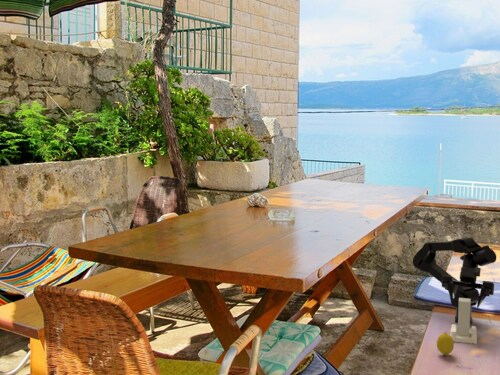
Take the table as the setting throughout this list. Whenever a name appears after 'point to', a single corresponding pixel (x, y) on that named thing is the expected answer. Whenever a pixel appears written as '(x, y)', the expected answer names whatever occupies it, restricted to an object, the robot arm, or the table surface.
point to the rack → (465, 339)
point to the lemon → (445, 343)
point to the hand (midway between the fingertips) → (464, 305)
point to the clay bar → (464, 317)
